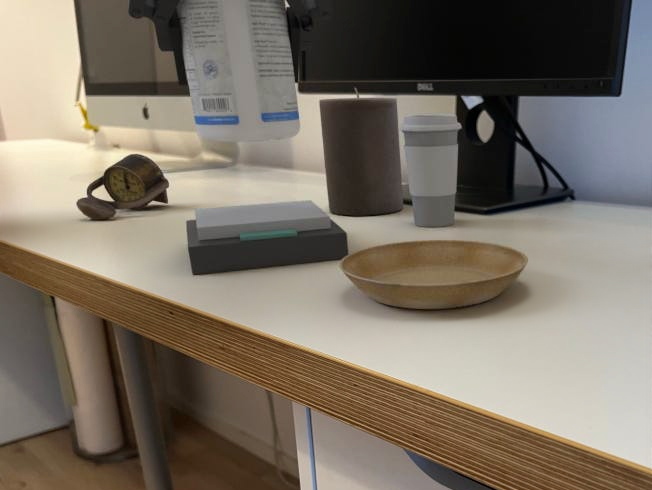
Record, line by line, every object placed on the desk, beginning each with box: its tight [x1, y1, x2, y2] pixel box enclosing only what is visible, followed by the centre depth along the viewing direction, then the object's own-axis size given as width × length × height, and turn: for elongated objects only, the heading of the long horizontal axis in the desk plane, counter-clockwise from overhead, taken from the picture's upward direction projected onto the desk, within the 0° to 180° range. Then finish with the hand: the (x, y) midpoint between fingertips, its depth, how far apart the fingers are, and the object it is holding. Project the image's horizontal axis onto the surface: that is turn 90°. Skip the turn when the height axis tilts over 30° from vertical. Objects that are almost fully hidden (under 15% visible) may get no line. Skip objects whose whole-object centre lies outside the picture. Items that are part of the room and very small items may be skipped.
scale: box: [185, 199, 350, 276], centre depth 69 cm, size 14×14×4 cm
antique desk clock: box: [75, 153, 170, 220], centre depth 92 cm, size 7×13×10 cm
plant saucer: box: [338, 239, 529, 310], centre depth 55 cm, size 15×15×3 cm
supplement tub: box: [176, 0, 301, 143], centre depth 64 cm, size 10×10×15 cm
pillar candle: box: [318, 87, 404, 217], centre depth 89 cm, size 10×10×15 cm
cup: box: [398, 113, 463, 228], centre depth 80 cm, size 7×7×12 cm
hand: (238, 73), depth 67 cm, fingers closed on supplement tub, 10 cm apart
